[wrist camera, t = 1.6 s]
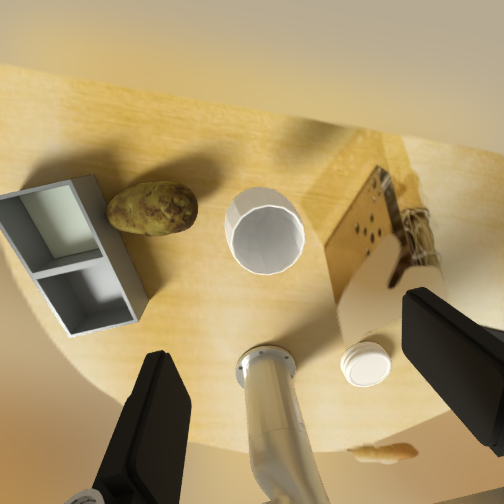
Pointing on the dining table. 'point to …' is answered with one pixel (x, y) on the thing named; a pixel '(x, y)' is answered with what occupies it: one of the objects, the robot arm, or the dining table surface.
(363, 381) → the coaster
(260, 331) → the dining table surface
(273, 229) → the cup
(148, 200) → the potato
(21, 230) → the divided open storage box
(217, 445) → the dining table surface
